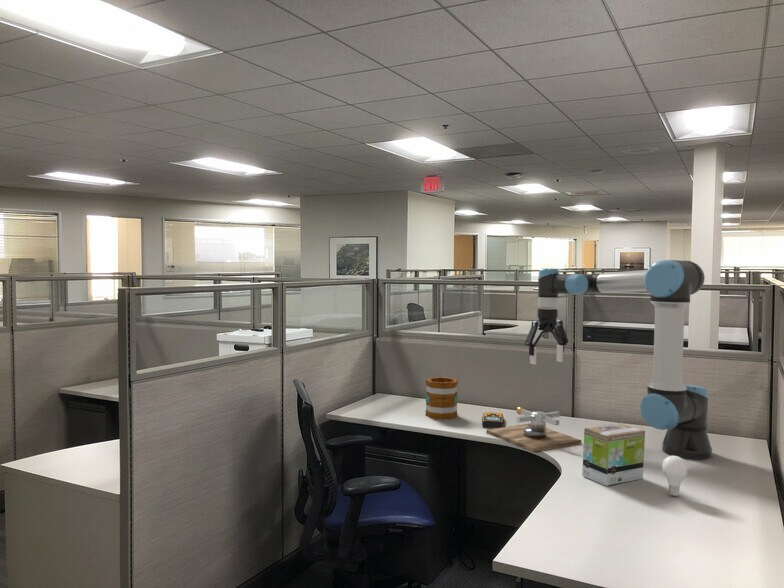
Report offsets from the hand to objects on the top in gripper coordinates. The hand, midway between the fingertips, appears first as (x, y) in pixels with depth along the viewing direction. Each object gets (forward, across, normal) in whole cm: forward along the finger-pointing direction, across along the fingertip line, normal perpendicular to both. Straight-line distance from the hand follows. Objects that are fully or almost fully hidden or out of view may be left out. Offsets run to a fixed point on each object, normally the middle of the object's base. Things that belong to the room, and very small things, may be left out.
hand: (546, 362), depth 233 cm
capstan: (+24, +15, +13) cm, 31 cm away
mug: (+26, +25, -36) cm, 51 cm away
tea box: (+25, +22, +53) cm, 62 cm away
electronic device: (+26, +14, -14) cm, 33 cm away
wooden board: (+25, +15, +10) cm, 31 cm away
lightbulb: (+25, +19, +70) cm, 77 cm away
